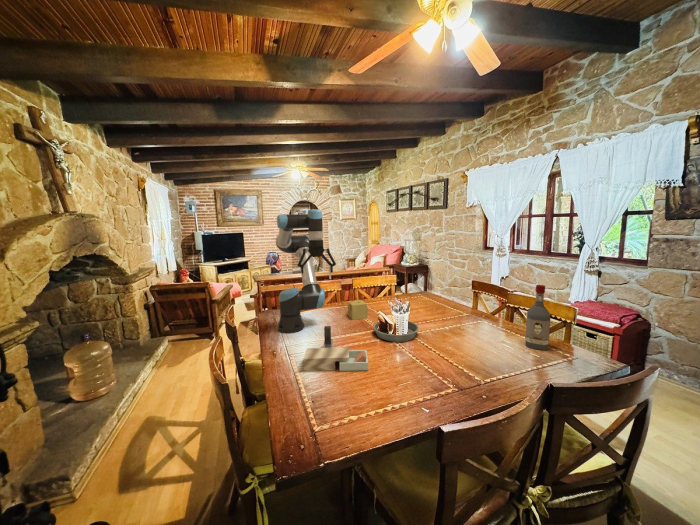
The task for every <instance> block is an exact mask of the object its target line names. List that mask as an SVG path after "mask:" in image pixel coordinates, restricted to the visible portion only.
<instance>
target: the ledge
mask: <svg viewBox="0 0 700 525" xmlns="http://www.w3.org/2000/svg"><path fill="white" fill-rule="evenodd" d="M349 350H350V347H349V346H348V347H347V346H346V347H345V346H344V347H333V348H323V347H311V348H310V347H307V348H306V349H305V353H304V356H303V371H304V372H316V371H317V372H318V371H321V372H322V371H323V372H324V371H336V364H337V363H336V362H340V361H349Z"/></svg>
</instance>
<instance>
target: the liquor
mask: <svg viewBox="0 0 700 525" xmlns="http://www.w3.org/2000/svg"><path fill="white" fill-rule="evenodd" d="M535 292H536V293H535V294H536V295H535V302H534V304H533V305H532V306H531V307H529V308H528V310H527V312H526V326H525V327H526V328H525V329H526V330H525V341H524V344H525V346H526V347H527V348H529V349H533V350H538V351H547V350H548V349H549V344H550V343H549V341H550V331H551V330H550V328H551V314H550V312H549V310H548V309H547V307H546V306H545V304H544V301H545V300H544V297H545V296H544V295H545V293H546V285H543V284H535Z"/></svg>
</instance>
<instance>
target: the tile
mask: <svg viewBox="0 0 700 525" xmlns="http://www.w3.org/2000/svg"><path fill="white" fill-rule="evenodd" d="M361 350H362V351H361V352H360V353H359V354H358V355H357V356H356V357H355V362H363V361H364V360H365V359H367V358H366V353H365V352H364V351H363V350H364V349H361Z"/></svg>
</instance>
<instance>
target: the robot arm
mask: <svg viewBox="0 0 700 525" xmlns="http://www.w3.org/2000/svg"><path fill="white" fill-rule="evenodd" d="M323 216H324V215H323V211H322V209H308V210H307V213H304V214H303V213H298V214H297V213H295V214H291V213H290V214H289V213H287V214H286V213H284V214H278V215H277V216H276V225H277V229H279V231H278V235H277V237H276V239H275V245H276V246H275V247H277V249H278V250H280V252H282V253H285V254H295V257H297V259H298V262H297V267H299V268H300V269H299V270H300V274H301V280H302V287H301V290H300V289H299V288H298V287H291V288H287V289H284V290H282V291H280V293H279V296H278V297H279V298H278V299H279V300H278V301H279V317H280V318H279V321H278V324H277V331H278V332H280V333H283V334H293V333H298V332H300V331H302V330H304V329H305V323H304V320H303V317H302V315H301V311H307V310H317V309H321V308H324V305H325V302H326V301H325V299H326V298H325V297H326V294H325V293H326V291H325V289H324V288H323V287H321V285H320V283H318V280H317V277H316V271H315V266H314V262H313V258H320V257H321V258H322V259H323V260H324V261H325V263H327V265H328V276H329V277H328V278H329V280H332V274H333V272H334V269H333V267H335V266H337V263H336V260H335V259H334V258H333V257H334V256H332V254H331V251H330V250H331V249H330V248H329V247H328V248H324V240H323V239H324V231H323ZM294 229H308V230H307V231H308V235H306V234H304V235H293V232H294ZM324 253H326V254H327V255H328V257H329V259H328V258H327V257H326V255H325V254H324Z"/></svg>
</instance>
